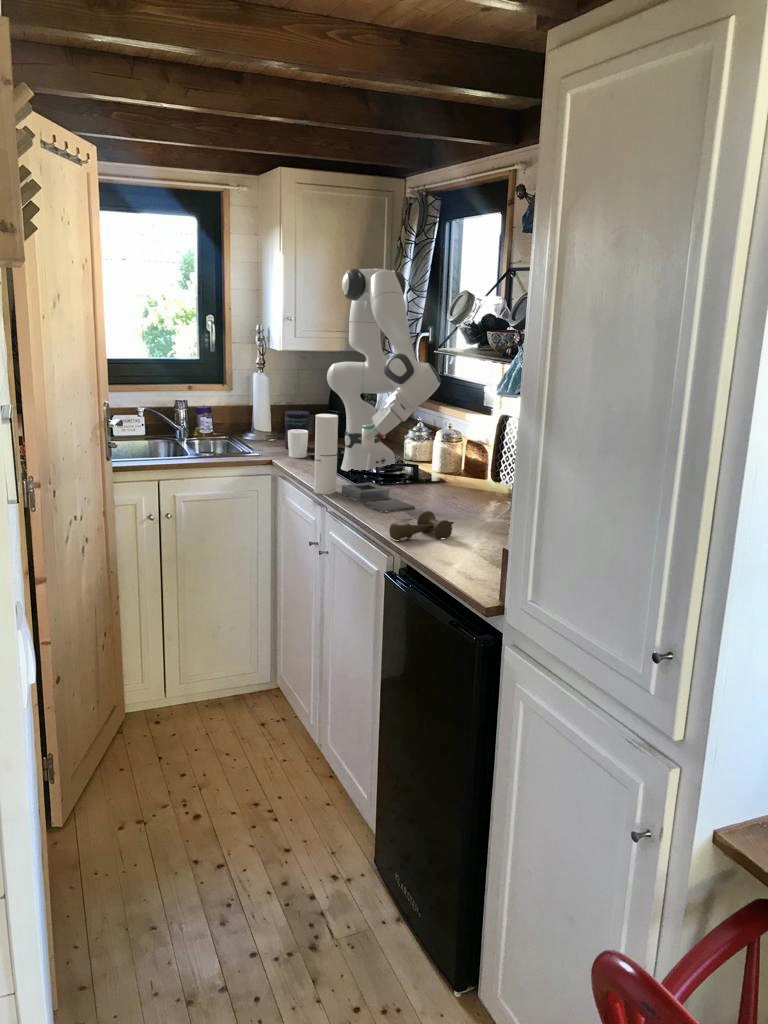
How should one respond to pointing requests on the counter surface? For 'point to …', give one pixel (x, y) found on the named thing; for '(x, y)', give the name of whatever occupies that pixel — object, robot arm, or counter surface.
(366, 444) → the white bottle teal cap
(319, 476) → the cylindrical container
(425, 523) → the kendama
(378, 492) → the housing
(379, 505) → the mat
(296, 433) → the white cup
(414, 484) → the counter surface
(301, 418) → the storage jar
